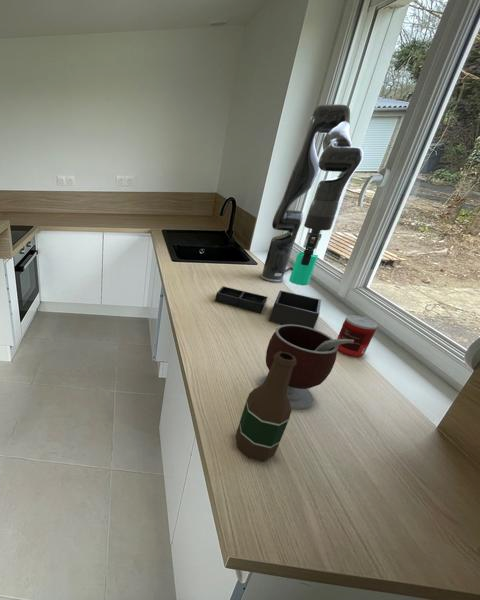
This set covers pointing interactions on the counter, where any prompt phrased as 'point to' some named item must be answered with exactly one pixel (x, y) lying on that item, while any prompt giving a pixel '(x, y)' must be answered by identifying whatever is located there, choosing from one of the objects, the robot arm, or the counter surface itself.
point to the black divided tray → (241, 299)
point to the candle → (302, 270)
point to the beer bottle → (266, 411)
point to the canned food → (356, 335)
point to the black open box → (295, 310)
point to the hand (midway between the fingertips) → (305, 262)
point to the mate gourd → (304, 359)
